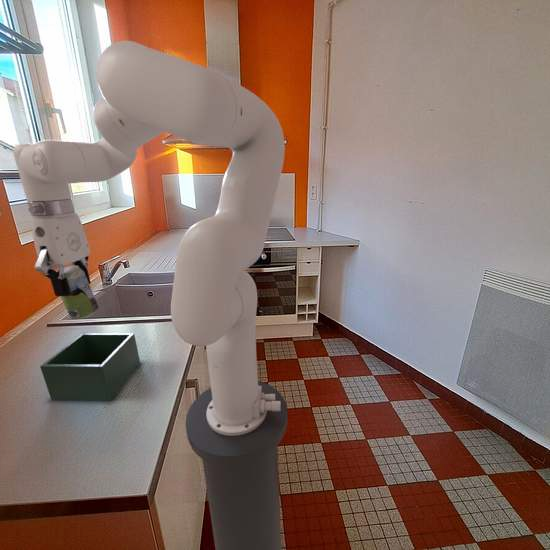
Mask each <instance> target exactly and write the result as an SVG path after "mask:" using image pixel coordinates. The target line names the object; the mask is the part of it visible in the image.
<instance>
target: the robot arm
mask: <svg viewBox="0 0 550 550" xmlns="http://www.w3.org/2000/svg"><path fill="white" fill-rule="evenodd" d="M95 73H96V83H97V86H98V89H99V91H100V93H101V95H102V98H101V99H99V100H97V102H96V103H95V104H94V106H93V109H92V118H93V122H94V125H95V127H96V129H97V131H98V132H99V134H100V135H101V138H100V139H99V140H97V141H95V142H85V141H73V140H58V139H57V140H56V139H44V140H43V139H42V140H39V141H36V142H34V143H23V144H22V143H21V144H17V145H15V146H14V147H13V150H12V153H13V156H14V161H15V164H16V168H17V171H18V175H19V179H20V181H21V185H22V188H23V192H24V195H25V199H26V202H27V207H28V212H29V214H30V216H31V218H30V223H31V224H30V225H31V232H32V238H33V242H34V247H35V252H36V255H37V260H36V262H35V265H34V270H35V271H37V272H39V273H40V274H42V275H43V276H44V277H46V278H47V280H49V281H50V282H51V285H52V286H51V287H52V290H53V293H54V296H56V297H61V296H69V295H71V292H70V288H69V284H68V280H67V278H64V267H66V266H69V265H71V264H72V266H73V265H77V266H79V268H81V269H82V270H83V271H84V273H85V275H86V278H87V280H88V282H89V285H90V284H91V283H92V282H91V278H90V274H89V270H88V267H89V262H88V261H89V255H90V254H91V248H90V245H89V241H88V238H87V235H86V232H85V229H84V226H83V223H82V221H81V219H80V217H79V215H78V213H77V212H76V210H75V206H74V202H73V198H72V194H71V190H70V189H71V188H70V185H69V184H80V183H101V182H105V181H108V180H111V179H113V178H115V177H116V176H118V175H120V174H122V173H123V172H125V171H127V170H128V169H129V168H130V167H131V166H132V165H133V164H134V162H135V160H136V158H137V156H138V150H139V149H140V148H142V147H144V146H145V145H146V144H148V143H149V142H150V141H152V140H154V139H155V138H157V137H158V136H161V134H163V133H167V134H169V135H172V136H175V137H176V138H179V139H181V140H184V141H187V142H190V143H194V144H198V145H202V146H209V147H217V148H228V149H229V150H231V152H232V156H231V159H230V162H229V164H228V166H227V169H226V171H225V173H224V176H223V178H222V183H221V190H220V195H219V201H218V205H217V209H216V211H215V214H214V215H213V216H210V217H207V218H204V219H201V220H200V221H197V222H195V223H194V224H192V225H191V226H190V227H189V228H188V229H187V230H186V231H185V233H183V234H184V235H183V236H182V238H181V240H180V242H179V245H178V249H177V254H176V260H175V268H174V275H173V283H172V292H171V299H170V318H171V322H172V325H173V328H174V330H175V332H176V334H177V335H178V336H179V337H180V339H182V340H183V341H184V342H186V343H187V344H188V345H191V346H194V347H205V348H206V358H207V366H208V375H209V381H210V388H211V391H212V399H213V400H212V401H211V402H210V404H209V405H208V408H207V413H206V416H207V421H208V424H209V426H210V427H211V428H212V429H213V430H214V431H215V432H217V433H219V434H222V435H226V436H239V435H243V434H246V433H249V432H251V431H253V430H254V429H256V428H257V427H258V426H260V424H261V423H262V422H263V421H264V419H265V417H266V414H267V411H280V409H281V402H280V401H275V394H264V393H262V390H261V386H258V381H259V376H258V375H259V374H258V360H257V359H258V358H257V357H258V356H257V335H256V334H257V332H256V326H257V325H256V322H257V321H256V320H257V311H258V309H257V308H258V290H257V285H256V282H255V281H254V278H253V277H252V275H250V274H249V273H248V272H247V271H246V270H247V269H249V268H250V267H252V265H254V264H255V263H256V262H257V261H259V259H260V257H261V256H262V254H263V252H264V247H265V244H266V238H267V234H268V230H269V226H270V222H271V218H272V214H273V210H274V205H275V200H276V196H277V192H278V189H279V188H278V187H279V185H280V184H279V183H280V180H281V175H282V171H283V167H284V161H285V153H286V152H285V151H286V145H285V144H286V143H285V136H284V132H283V128H282V126H281V123H280V121H279V119H278V117H277V116H276V114H275V113H274V111H273V110H272V109H271V108H270V106H269V105H268V104H266V102H265V101H264V100H262V99H261V98H260V97H259V96H258V95H256V94H255V93H254V92H252V91H250V90H249V89H247V88H246V87H244V86H242V85H241V84H239V83H237V82H234V81H233V80H231V79H229V78H228V77H225V76H223V75H222V74H220V73H218V72H217V71H214V70H212V69H210V68H208V67H205V66H203V65H200V64H197V63H194V62H193V61H189V60H186V59H184V58H180V57H177V56H175V55H171V54H169V53H166V52H162V51H159V50H157V49H154V48H151V47H148V46H146V45H143V44H141V43H139V42H137V41H133V40H120V41H116V42H114V43H111V44H110V45H109V46H108V47H106V48H105V49H104V50H103V51H102V53H101V55H100V56H99V59H98V62H97V64H96V72H95ZM55 268H56V270H57V272H56V270H55ZM265 400H269V401H272V402H268V401H265Z"/></svg>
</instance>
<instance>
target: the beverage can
mask: <svg viewBox="0 0 550 550" xmlns="http://www.w3.org/2000/svg"><path fill="white" fill-rule="evenodd" d="M55 271H56V272H57V269H56V270H55ZM64 278H67V280H68V284H69V288H70V292H71V295H69V296H60V299H61V301H62V304H63V305H64V308H65V309H66V312H67V314H68V316H69V318H71V319H76V320H81V319H86V318H88V317H91V316H92V315H94V314H95V313H96V311H98V309H99V304H98V302H97V300H96V297H95V295H94V292H93V290H92V287H91V285H90V284H89V282H88V280H87V278H86V275H85V273H84V271H83V270H82V269H81V268H79V266H77V265H73V264H72V265H67V266H64Z"/></svg>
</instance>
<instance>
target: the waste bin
mask: <svg viewBox="0 0 550 550" xmlns="http://www.w3.org/2000/svg"><path fill="white" fill-rule="evenodd" d="M140 364H141V360H140V355H139V349H138V345H137V340H136V336H135V333H133V332H131V333H129V332H127V333H126V332H125V333H123V332H120V333H119V332H117V333H116V332H113V333H112V332H111V333H110V332H109V333H107V332H105V333H104V332H103V333H101V332H100V333H98V332H97V333H93V332H92V333H91V332H90V333H88V332H87V333H86V332H85V333H81V334H79V335H78V336H77V337H76V338H74V339H73V340H72V341H70V342H69V343H68V344H67V345H66V346H64V347H63V348H61V349H60V350H59V351H57V352H56V353H55V354H53V355H52V356H51V357H50V358H49V359H48V360H46V361H45V362H43V363H42V364H41V365H40V366H39V367H40V371H41V374H42V376H43V379H44V382H45V386H46V389H47V391H48V394H49V398H50V400H51V401H82V402H83V401H94V402H111V401H112V400H113V399H114V398H115V396H116V395H117V394H118V393H119V392H120V390H121V389H122V387H123V386H124V385H125V384H126V382H127V381H128V380H129V378H130V377H131V376H132V375H133V374H134V372H135V371H136V370H137V368H138V367H139V366H140Z"/></svg>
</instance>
